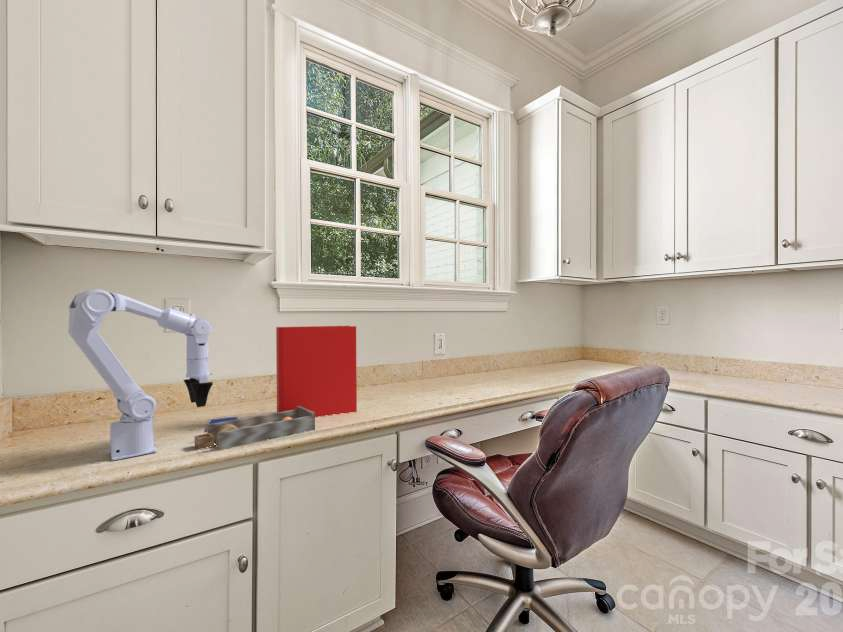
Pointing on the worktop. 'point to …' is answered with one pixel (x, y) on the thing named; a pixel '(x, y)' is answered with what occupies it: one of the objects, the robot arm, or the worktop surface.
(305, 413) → the lane
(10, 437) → the worktop surface
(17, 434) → the worktop surface
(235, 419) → the hard drive
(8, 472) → the worktop surface
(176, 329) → the robot arm
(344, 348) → the book
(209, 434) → the brown wooden crate
